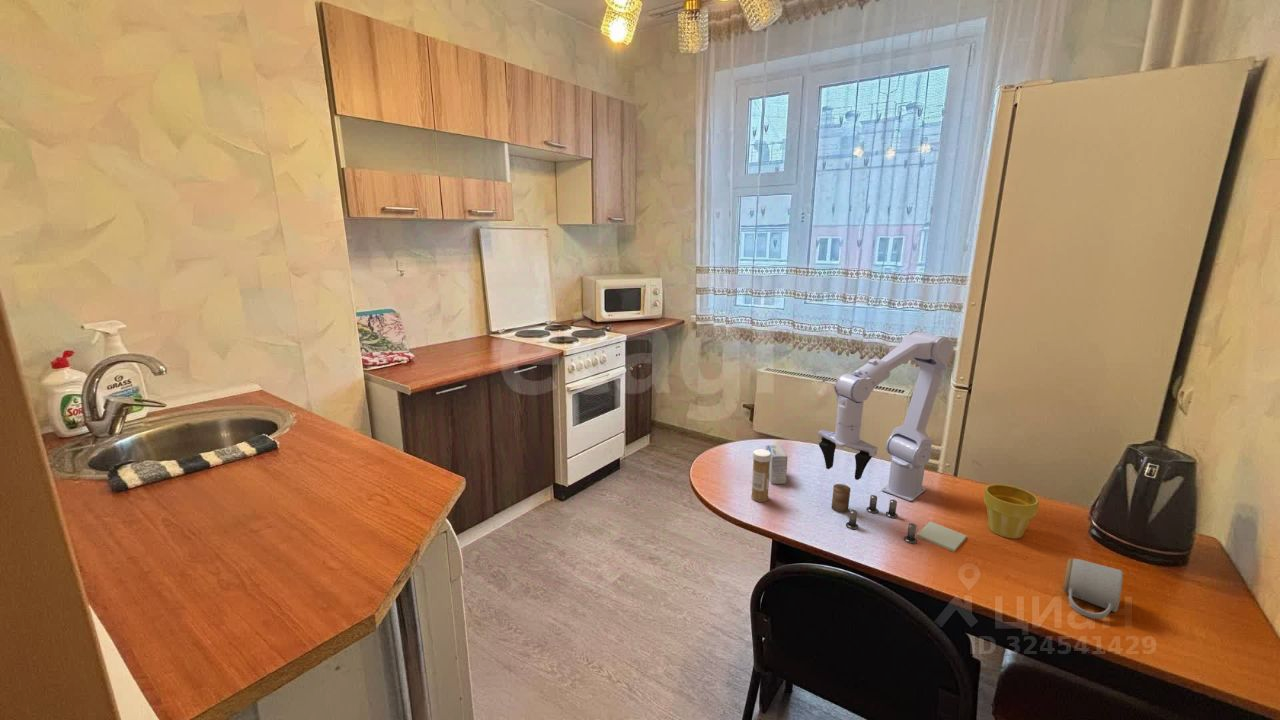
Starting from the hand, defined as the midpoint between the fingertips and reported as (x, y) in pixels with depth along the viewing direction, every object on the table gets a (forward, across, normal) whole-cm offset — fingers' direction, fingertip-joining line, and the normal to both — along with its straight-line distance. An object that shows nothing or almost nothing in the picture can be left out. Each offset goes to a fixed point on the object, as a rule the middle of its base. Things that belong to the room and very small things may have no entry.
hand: (843, 472), depth 129 cm
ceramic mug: (+10, +49, +4) cm, 50 cm away
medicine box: (+10, -21, +2) cm, 24 cm away
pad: (+10, +22, +6) cm, 25 cm away
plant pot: (+10, +31, +20) cm, 38 cm away
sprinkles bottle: (+10, -17, -11) cm, 23 cm away
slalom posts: (+10, +12, +1) cm, 16 cm away
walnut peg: (+10, 0, 0) cm, 10 cm away
